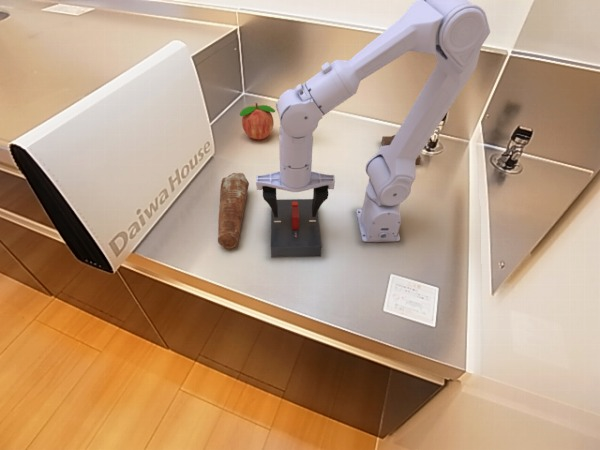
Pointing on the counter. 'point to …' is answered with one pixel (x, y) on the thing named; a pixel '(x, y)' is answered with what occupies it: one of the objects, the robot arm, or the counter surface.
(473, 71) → the robot arm
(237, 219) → the bread
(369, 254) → the counter surface
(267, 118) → the fruit
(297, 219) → the toaster knob
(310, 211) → the panel
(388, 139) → the button block
